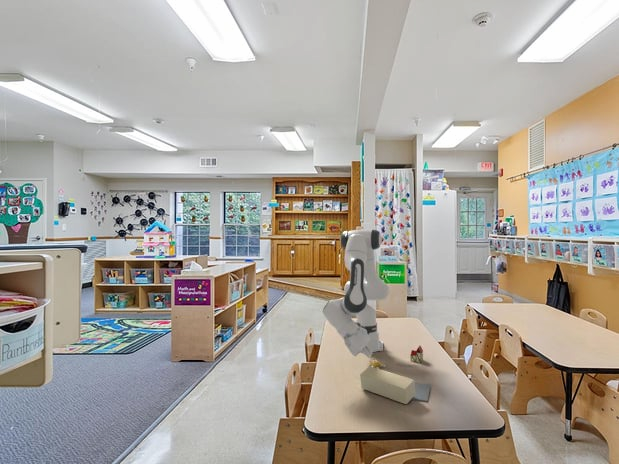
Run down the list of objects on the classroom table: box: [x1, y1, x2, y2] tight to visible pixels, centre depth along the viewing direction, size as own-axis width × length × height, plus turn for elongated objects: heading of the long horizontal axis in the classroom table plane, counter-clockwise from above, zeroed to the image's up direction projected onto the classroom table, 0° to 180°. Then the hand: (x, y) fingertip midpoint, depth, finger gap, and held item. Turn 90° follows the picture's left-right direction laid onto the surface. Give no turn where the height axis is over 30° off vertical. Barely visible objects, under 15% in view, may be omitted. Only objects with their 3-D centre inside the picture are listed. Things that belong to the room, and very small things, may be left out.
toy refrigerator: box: [359, 365, 415, 405], centre depth 146 cm, size 8×7×21 cm
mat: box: [369, 381, 432, 403], centre depth 151 cm, size 16×23×1 cm
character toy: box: [369, 358, 387, 369], centre depth 175 cm, size 8×3×8 cm
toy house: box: [410, 345, 424, 364], centre depth 184 cm, size 6×7×8 cm
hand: (371, 355), depth 157 cm, fingers closed
